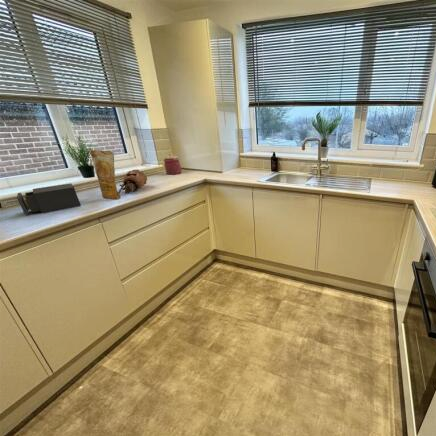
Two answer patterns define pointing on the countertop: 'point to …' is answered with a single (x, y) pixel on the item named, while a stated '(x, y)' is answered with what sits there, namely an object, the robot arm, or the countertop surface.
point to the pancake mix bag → (105, 172)
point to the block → (26, 204)
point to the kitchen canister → (172, 165)
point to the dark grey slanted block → (56, 198)
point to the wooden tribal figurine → (133, 181)
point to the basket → (29, 199)
